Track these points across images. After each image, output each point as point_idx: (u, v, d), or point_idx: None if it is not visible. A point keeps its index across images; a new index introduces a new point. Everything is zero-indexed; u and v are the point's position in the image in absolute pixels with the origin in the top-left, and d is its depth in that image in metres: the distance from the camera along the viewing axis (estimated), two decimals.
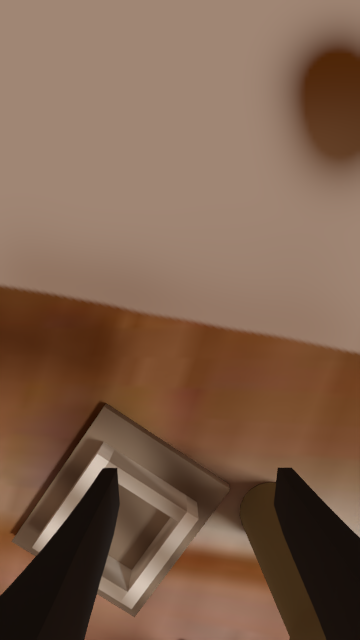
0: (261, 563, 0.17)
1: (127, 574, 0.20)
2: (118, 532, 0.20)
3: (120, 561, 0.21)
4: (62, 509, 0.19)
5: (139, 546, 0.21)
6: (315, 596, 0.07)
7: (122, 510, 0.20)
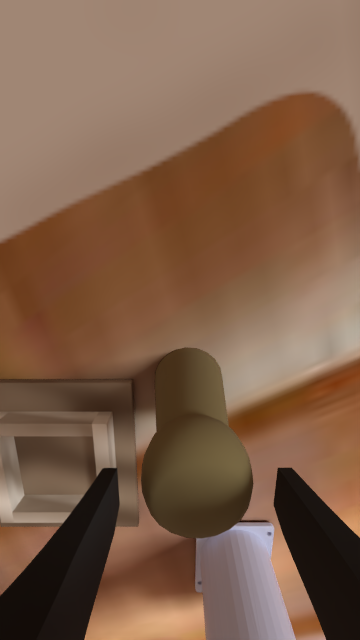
0: None
1: None
2: (70, 473, 0.21)
3: None
4: None
5: (96, 474, 0.21)
6: (315, 596, 0.07)
7: (58, 455, 0.20)
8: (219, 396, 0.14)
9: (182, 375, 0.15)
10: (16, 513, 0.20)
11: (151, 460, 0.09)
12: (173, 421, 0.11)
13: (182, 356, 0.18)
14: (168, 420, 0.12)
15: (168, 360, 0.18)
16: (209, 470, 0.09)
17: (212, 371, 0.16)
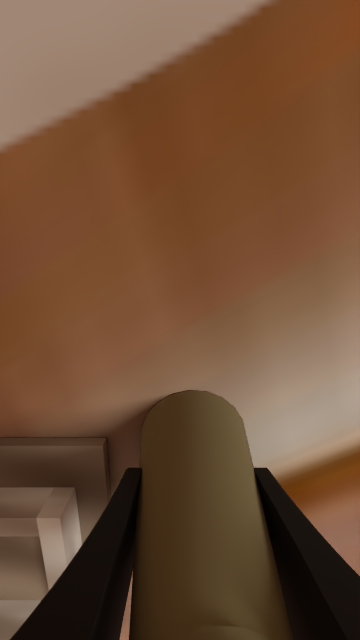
0: None
1: None
2: (16, 572, 0.14)
3: None
4: None
5: None
6: None
7: None
8: (258, 514, 0.07)
9: (184, 460, 0.08)
10: None
11: None
12: None
13: (184, 410, 0.11)
14: (152, 628, 0.05)
15: (161, 415, 0.11)
16: None
17: (236, 442, 0.10)
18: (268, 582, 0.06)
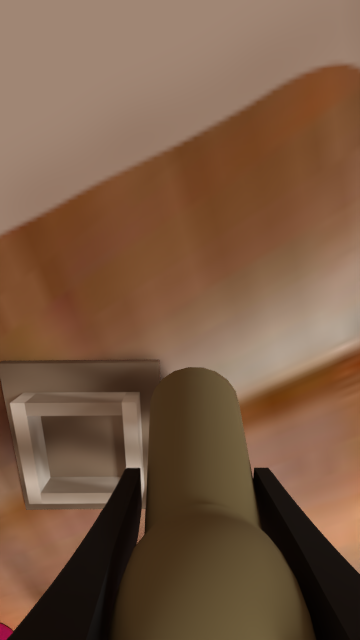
0: None
1: None
2: (97, 455, 0.21)
3: (117, 475, 0.21)
4: (24, 462, 0.19)
5: (122, 455, 0.21)
6: None
7: (85, 436, 0.20)
8: (239, 450, 0.09)
9: (182, 416, 0.10)
10: (44, 494, 0.20)
11: (118, 638, 0.05)
12: (163, 533, 0.06)
13: (183, 382, 0.13)
14: (159, 512, 0.07)
15: (165, 388, 0.13)
16: None
17: (225, 404, 0.12)
18: (242, 487, 0.08)
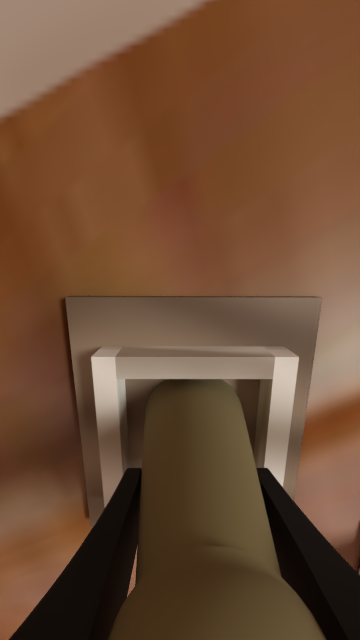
0: None
1: None
2: None
3: None
4: (104, 456, 0.12)
5: None
6: None
7: None
8: (250, 471, 0.08)
9: (183, 427, 0.09)
10: None
11: None
12: (161, 591, 0.04)
13: (183, 388, 0.11)
14: (155, 553, 0.06)
15: (163, 394, 0.12)
16: None
17: (231, 414, 0.10)
18: (256, 520, 0.06)
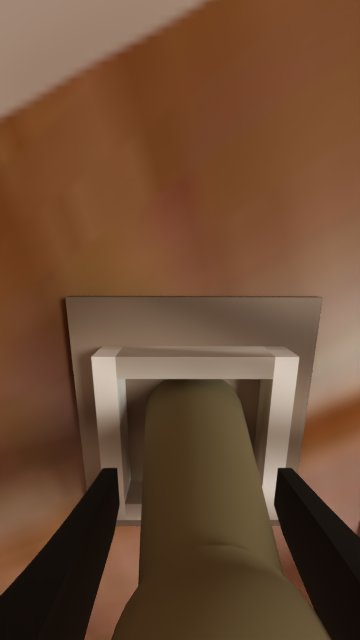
0: None
1: None
2: None
3: None
4: (104, 455, 0.12)
5: None
6: (315, 596, 0.07)
7: None
8: (251, 470, 0.08)
9: (184, 427, 0.09)
10: (131, 505, 0.13)
11: None
12: (166, 591, 0.04)
13: (184, 387, 0.11)
14: (158, 552, 0.06)
15: (163, 394, 0.12)
16: None
17: (232, 413, 0.10)
18: (259, 518, 0.06)
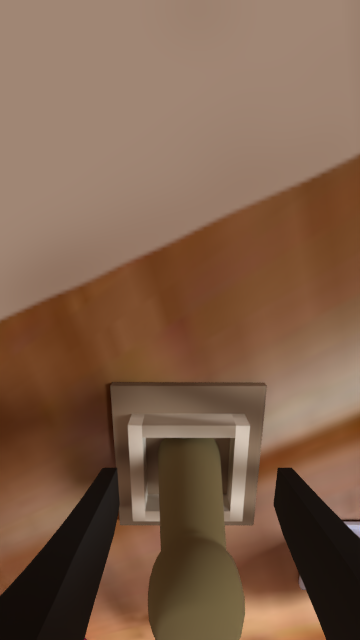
0: None
1: (224, 499, 0.21)
2: None
3: None
4: (133, 482, 0.20)
5: None
6: (315, 596, 0.07)
7: None
8: (216, 496, 0.16)
9: (182, 471, 0.17)
10: (149, 512, 0.20)
11: (155, 596, 0.11)
12: (174, 548, 0.12)
13: (182, 442, 0.19)
14: (170, 536, 0.13)
15: (169, 445, 0.19)
16: (205, 614, 0.10)
17: (209, 460, 0.18)
18: (215, 521, 0.14)
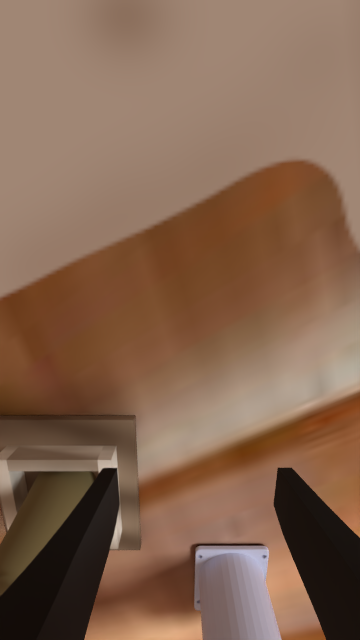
0: None
1: None
2: None
3: None
4: (6, 512, 0.20)
5: None
6: (315, 596, 0.07)
7: None
8: (53, 533, 0.16)
9: (30, 507, 0.17)
10: None
11: None
12: None
13: (49, 474, 0.20)
14: None
15: (39, 477, 0.20)
16: None
17: (68, 494, 0.19)
18: None
